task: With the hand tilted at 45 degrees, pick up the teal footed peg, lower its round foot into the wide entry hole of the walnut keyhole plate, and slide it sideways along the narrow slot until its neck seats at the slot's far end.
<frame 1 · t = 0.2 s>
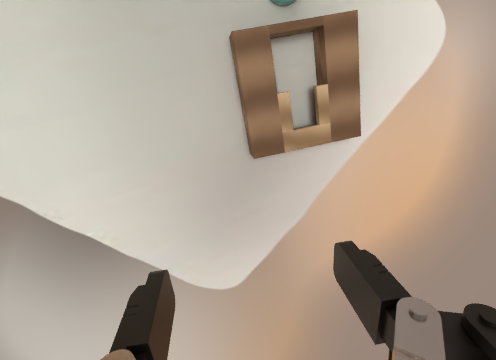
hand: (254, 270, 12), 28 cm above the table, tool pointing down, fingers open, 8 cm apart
keyhole plate: (294, 89, 38), on the table
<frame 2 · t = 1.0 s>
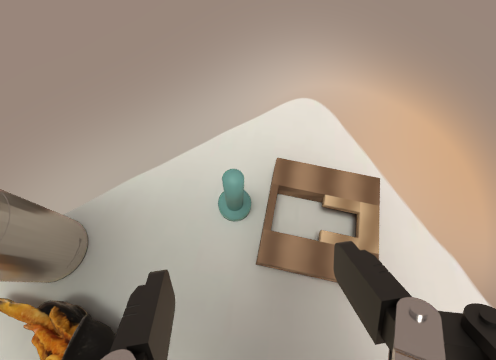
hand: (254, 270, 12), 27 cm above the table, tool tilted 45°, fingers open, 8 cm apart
keyhole plate: (316, 222, 41), on the table
peg: (234, 205, 41), on the table
fried food: (71, 330, 34), on the table
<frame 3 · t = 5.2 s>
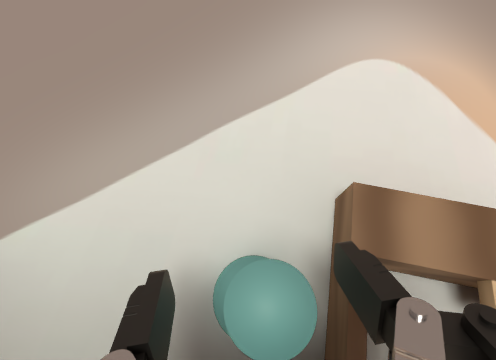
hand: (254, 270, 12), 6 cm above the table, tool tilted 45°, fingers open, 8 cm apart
keyhole plate: (452, 339, 17), on the table
peg: (252, 296, 17), on the table
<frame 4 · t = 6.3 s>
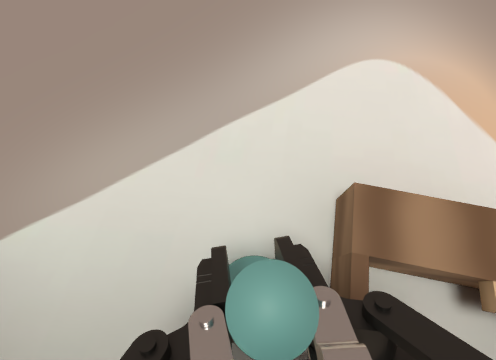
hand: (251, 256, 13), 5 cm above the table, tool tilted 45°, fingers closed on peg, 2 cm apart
keyhole plate: (453, 340, 17), on the table
peg: (253, 297, 17), on the table, touching gripper
when the fingers open (5 cm above the table, at t = 15.5 s): peg stays where it is, resting in keyhole plate.
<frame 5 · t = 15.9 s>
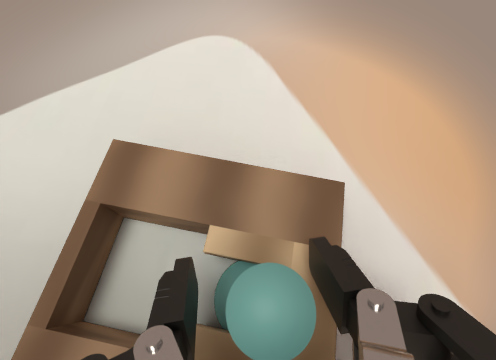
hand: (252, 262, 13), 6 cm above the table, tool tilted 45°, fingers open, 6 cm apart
keyhole plate: (202, 286, 18), on the table
peg: (253, 298, 18), resting in keyhole plate
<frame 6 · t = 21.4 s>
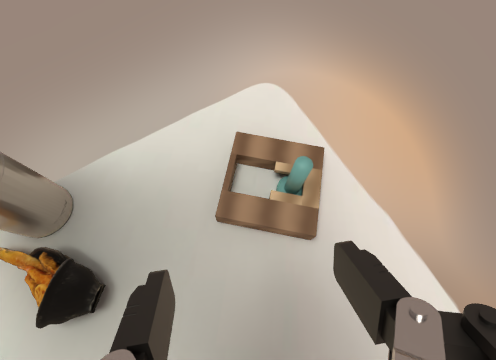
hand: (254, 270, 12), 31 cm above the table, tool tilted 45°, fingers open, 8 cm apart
keyhole plate: (270, 187, 47), on the table
peg: (290, 191, 47), resting in keyhole plate
fried food: (58, 277, 41), on the table
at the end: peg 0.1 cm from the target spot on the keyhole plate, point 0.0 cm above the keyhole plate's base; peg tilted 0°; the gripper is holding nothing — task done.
